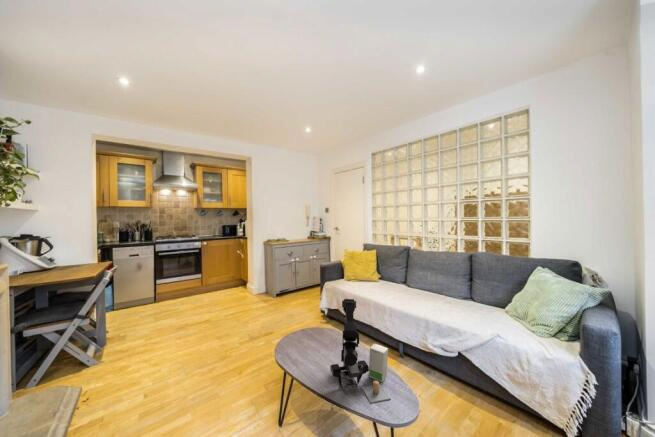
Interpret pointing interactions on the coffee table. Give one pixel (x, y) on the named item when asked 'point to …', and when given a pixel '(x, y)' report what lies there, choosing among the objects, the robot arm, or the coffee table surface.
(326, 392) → the coffee table surface
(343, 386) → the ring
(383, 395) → the piston base
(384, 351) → the skincare box
